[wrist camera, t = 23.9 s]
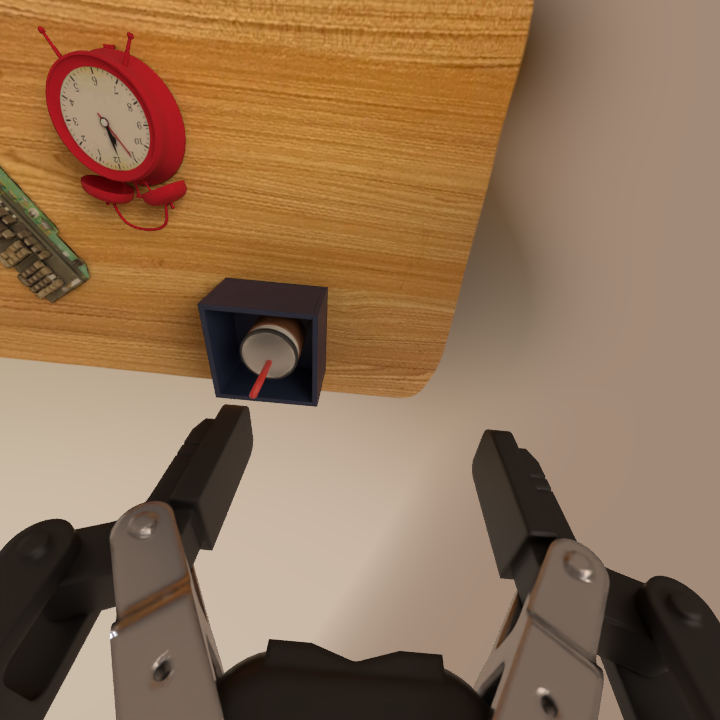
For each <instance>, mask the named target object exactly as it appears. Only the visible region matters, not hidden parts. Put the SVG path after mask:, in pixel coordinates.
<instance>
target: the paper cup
mask: <svg viewBox="0 0 720 720" xmlns="http://www.w3.org/2000/svg"><path fill="white" fill-rule="evenodd" d="M308 328H309V320H308V319H299V318H288V317H277V316H267V315H260V316H259V317H258V319H257V320H256V322H255V323H254V325H253V326H252V328H251V329H250V330H249V332H248V333H247V335H246V337H245V338H244V339H243V341H242V343H241V346H240V355H241V358H242V361H243V363H244V364H245V365H246V367H247V368H248V369H249V370H250V371H252V372H253V373H255V374H256V375H258V378H257V380H256V382H255V384H254V386H253V388H252V390H251V392H250V394H249V396H250V398H252V399H255V398H256V397H257V395H258V393H259V391H260V389H261V387H262V384H263V382H264V380H265V378H267V379H280V378H283V377H286V376H288V375H289V374H291V373H292V372H293V371H294V369H295V368H296V365H297V362H298V359H299V357H300V354H301V351H302V349H303V346H304V343H305V340H306V334H307V331H308Z"/></svg>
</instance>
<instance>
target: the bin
mask: <svg viewBox="0 0 720 720" xmlns="http://www.w3.org/2000/svg"><path fill="white" fill-rule="evenodd" d="M327 299H328V287H319V286H309V285H298V284H287V283H277V282H266V281H256V280H245V279H234V278H225V279H224V280H223V281H222V282H221V283H220V284H219V285H217V286H216V287H215V288H214V289H213V290H212V291H211V292H210V293H209V294H208V295H207V296H206V297H204V298H203V299H202V300H201V301H200V302H199V303H198V309H199V314H200V319H201V324H202V329H203V334H204V339H205V344H206V349H207V354H208V359H209V364H210V369H211V374H212V379H213V384H214V389H215V394H216V397H220V398H230V399H242V400H251V401H262V402H274V403H284V404H295V405H306V406H317V404H318V400H319V396H320V392H321V387H322V383H323V379H324V374H325V368H326V333H327ZM260 315H267V316H277V317H288V318H299V319H308V320H309V328H308V331H307V334H306V340H305V343H304V346H303V349H302V351H301V354H300V357H299V359H298V362H297V365H296V368H295V369H294V371H293V372H292V373H291V374H289V375H288V376H286V377H283V378H280V379H267V378H265V380H264V382H263V384H262V387H261V389H260V391H259V393H258V395H257V397H256V398H255V399H252V398H250V396H249V394H250V392H251V390H252V388H253V386H254V384H255V382H256V380H257V378H258V375H256V374H255V373H253V372H252V371H250V370H249V369H248V368H247V367H246V365H245V364H244V363H243V361H242V358H241V355H240V346H241V343H242V341H243V339H244V338H245V337H246V335H247V333H248V332H249V330H250V329H251V328H252V326H253V325H254V323H255V322H256V320H257V319H258V317H259V316H260Z"/></svg>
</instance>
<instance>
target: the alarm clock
mask: <svg viewBox="0 0 720 720" xmlns="http://www.w3.org/2000/svg"><path fill="white" fill-rule="evenodd" d="M38 31H39V32H40V33H42V34H43V35H44V37H45V38H46V40H47V41H48V43H49V44H50V45H51V48H52V49H53V50H54V52H55V53H56V55H57V56H58V58H59V59H58V60H57V61H56V62H55V63H54V64H53V65H52V67H51V69H50V71H49V73H48V76H47V80H46V102H47V107H48V111H49V114H50V117H51V120H52V123H53V125H54V127H55V129H56V131H57V133H58V135H59V136H60V138H61V140H62V141H63V143H64V144H65V145H66V147H67V148H68V149H69V150H70V152H71V153H72V154H73V155H74V156H75V157H76V158H77V159H78V160H79V161H80V162H81V163H82V164H84V165H85V166H86V167H87V168H89V169H90V170H92V171H94V172H95V173H97V174H99V175H101V176H97V175H86V176H83V177H81V184H82V187H83V189H84V190H85V191H86V192H87V193H88V194H89V195H91V196H93V197H95V198H97V199H99V200H102V201H105V202H106V204H107V205H110V203H113V205H114V208H115V210H116V212H117V213H118V215H119V216H120V218H121V219H122V220H123V221H124V222H125V223H126V224H127V225H129V226H131V227H133V228H135V229H139V230H145V231H156V230H161V229H163V228H164V227H165V226H166V225H167V223H168V209H167V206H168V205H169V204H170V206H171V208H172V209H175V207H174V205H173V203H172V202H174V201H176V200H178V199H179V198H181V197H183V196H184V195H185V193H186V191H187V187H186V184H185V182H184V180H182V181H178V182H175V183H171V184H168V185H165V186H162V187H160V188H157V189H154V190H152V191H151V189H150V187H149V186H148V185H155V184H158V183H161V182H164V181H166V180H168V179H169V178H170V177H172V176H173V175H174V174H175V173H176V171H177V170H178V169H179V167H180V165H181V163H182V160H183V157H184V153H185V144H186V138H185V128H184V123H183V120H182V116H181V113H180V110H179V108H178V106H177V103H176V101H175V99H174V97H173V96H172V94H171V92H170V91H169V89H168V88H167V86H166V85H165V84H164V82H163V81H162V80H161V79H160V77H159V76H158V75H157V74H156V73H155V72H154V71H153V70H152V69H151V68H150V67H148V66H147V65H146V64H145V63H143V62H142V61H140V60H139V59H137V58H136V57H134V56H132V55H130V52H129V51H130V45H131V40H132V39H134V36H133V34H131V33H130V32H128V33H127V36H128V42H127V46H126V50H125V52H122V51H119V50H115V48H114V46H116V45H106V44H103V47H104V48H99V49H94V50H91V51H74V52H71V53H68V54H66V55H64V56H62V55H61V54H60V52H59V51H58V49H57V48H56V47H55V46H54V45H53V43H52V42H51V40H50V39H49V38H48V36H47V35H46V33H45V29H44V28H43V27H41V26H40V27H38ZM123 182H124V183H123ZM126 182H131V183H134V184H135V187H136V190H137V194H138V195H136V197H137V198H143V200H144V201H145V202H146V203H147V204H149V205H152V206H160V205H165V223H164V224H163V225H162V226H160V227H158V228H141V227H137V226H134V225H132V224H130V223H129V222H128V221H126V220H125V219H124V217H123V216H122V215H121V213H120V212H119V210H118V208H117V206H116V204H122V203H128V202H130V201H131V200H132V199H133V197H134V192H135V191H134V189H133V188H132V187H130V186H129V185H127V184H126ZM137 184H139V185H146V186H147V188H148V189H149V192H147V193H144V194H142V195H140V193H139V189H138V186H137ZM115 203H116V204H115Z"/></svg>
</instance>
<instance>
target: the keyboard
mask: <svg viewBox="0 0 720 720" xmlns="http://www.w3.org/2000/svg"><path fill="white" fill-rule="evenodd" d="M57 234H58V229H57V227H56V226H55V225H54V224H53V223H52V222H51V221H50V220H49V219H48V218H47V216H46V215H45V214H44V213H43V212H42V211H41V210H40V209H39V208H38V207H37V206H36V205H35V204H34V203H33V202H32V201H31V200H30V198H29V197H28V196H27V195H26V194H25V193H24V192H22V190H21V188H20V187H19V186H18V185H17V184H16V183H15V182H14V181H13V180H12V179H11V178H10V177H9V176H8V175H7V174H6V173H5V172H4V170H3V169H2V168H1V167H0V262H1V263H2V264H3V265H4V266H5V267H6V268H12V267H14V268H15V269H16V270H17V271H18V272H19V273H20V274H19V275H18V277H17V278H18V279H19V280H20V281H21V282H22V283H23V284H24V285H25V286H26V287H31V288H30V290H31V291H32V292H33V293H36V296H38V297H39V298H40V299H42V298H44V297H46V298H47V299H48V300H49V301H50V302H51V303H52V302H55V300H57V299H58V298H60V297H62V296H63V295H65V294H66V293H68V292H69V291H71V290H72V289H74V288H76V287H77V286H78V285H80V284H81V283H83V282H85V281H86V280H87V279H88V278H90V276H89V272H88V269H87V265H86V264H85V262H84V261H83V260H82V259H81V258H79V257H78V256H77V255H76V254H75V253H74V252H73V251H72V249H71V248H70V247H69V246H68V245H67V244H66V243H65V242H64V241H63V240H62V239H61V238H60V237H59V236H57Z"/></svg>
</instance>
